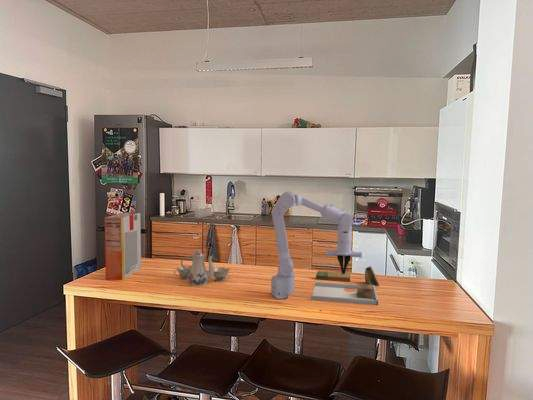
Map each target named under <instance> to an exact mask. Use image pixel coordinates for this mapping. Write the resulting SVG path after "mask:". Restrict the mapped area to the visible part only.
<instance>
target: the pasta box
mask: <svg viewBox="0 0 533 400" xmlns="http://www.w3.org/2000/svg"><path fill="white" fill-rule="evenodd" d="M141 225H142V224H141V212H128V211H127V212H122V213H118V214H114V215H110V216H105V217H104V252H105V254H104V255H105V256H104V257H105V259H104V260H105V262H104V263H105V280H106V281H107V280H108V281H109V280H111V281H112V280H113V281H115V280H116V281H123V280H125V279H126V278H128V277H129V276H131V275H132V274H134V273H135V272H137V271H138V270H141V268H142V244H141V243H142V242H141V241H142V239H141V238H142V236H141V234H142V233H141V231H142V230H141Z"/></svg>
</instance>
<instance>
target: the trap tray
mask: <svg viewBox="0 0 533 400" xmlns="http://www.w3.org/2000/svg"><path fill="white" fill-rule="evenodd" d="M372 288H373V298H372V299H369V298H357V284H349V283H348V284H345V283H331V282H320V281H314V288H313V292H312V295H311V296H310V300H311V301H320V302H321V301H324V302H333V303H335V302H336V303H347V304H358V305H359V304H360V305H372V306H379V297H378V293H377V289H376V286H375V285H372ZM345 289H349V290H350V289H351V290H352V289H354V290H355V291H345Z"/></svg>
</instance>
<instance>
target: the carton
mask: <svg viewBox="0 0 533 400" xmlns="http://www.w3.org/2000/svg"><path fill="white" fill-rule="evenodd" d="M315 280H318V281H330V282H331V281H333V282H334V281H335V282H346V283H350V282H351V273H350V272H345V274H342V271H341V272H339V271H326V270H318V271H317V272H316V274H315Z"/></svg>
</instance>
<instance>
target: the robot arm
mask: <svg viewBox="0 0 533 400" xmlns="http://www.w3.org/2000/svg"><path fill="white" fill-rule="evenodd" d="M294 206H295V207H299V206H304V207H307V208H308V209H311V210H314V211H315V212H317V213H319V214H320V215H321V218H325V219H326V220H329V221H331V222H333V223H336V224H338V226H337V227H338V228H337V241H336V244H337V246H336V249H335V250H334V249H333V250H331V249H330V250H329V249H327V250H326V252H325V253H326V256H327V257H329V256H333V257H337V260H338V263H339V266H340V269H341V272H342V274H345V273H346V271H347V267H348V265H349V263H350V261H351V258H359V259H362V258H363V252H362V251H353V250H352V236H353V235H352V233H353V232H352V228H353V224H354V218H353V217H352V215H351V214H350V213H348V212H347V211H344V210H343V209H339V208H337V207H334V204H331V203H330V204H327V203H326V204H325V205H323V204H320V203H319V202H316V201H314V200H312V199H310V198H308V197H306V196H304V195H302V194H298V193H293V192H291V191H285V192H283V193H282V194H281V195H280V196H279V197H278V199H277V201H276V203H275V204H274V207H273V209H272V211H271V217H272V223H273V228H274V235H275V241H276V246H277V252H278V268H277V270H278V271H277V272H276V273H277V274H276V275H272V276H271V281H270V283H271V284H270V294H271V295H272V296H273V297H274V298H275V299H276V300H280V299H288V297H289V296H290V295H293V294H294V293H295V273H294V261H293V259H292V258H291V254H290V253H291V252H290V250H289V249H290V248H289V244H288V237H287V232H286V225H285V218H284V215H285V214H286V212H287V211H288V210H289V209H291V208H293V207H294Z"/></svg>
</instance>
